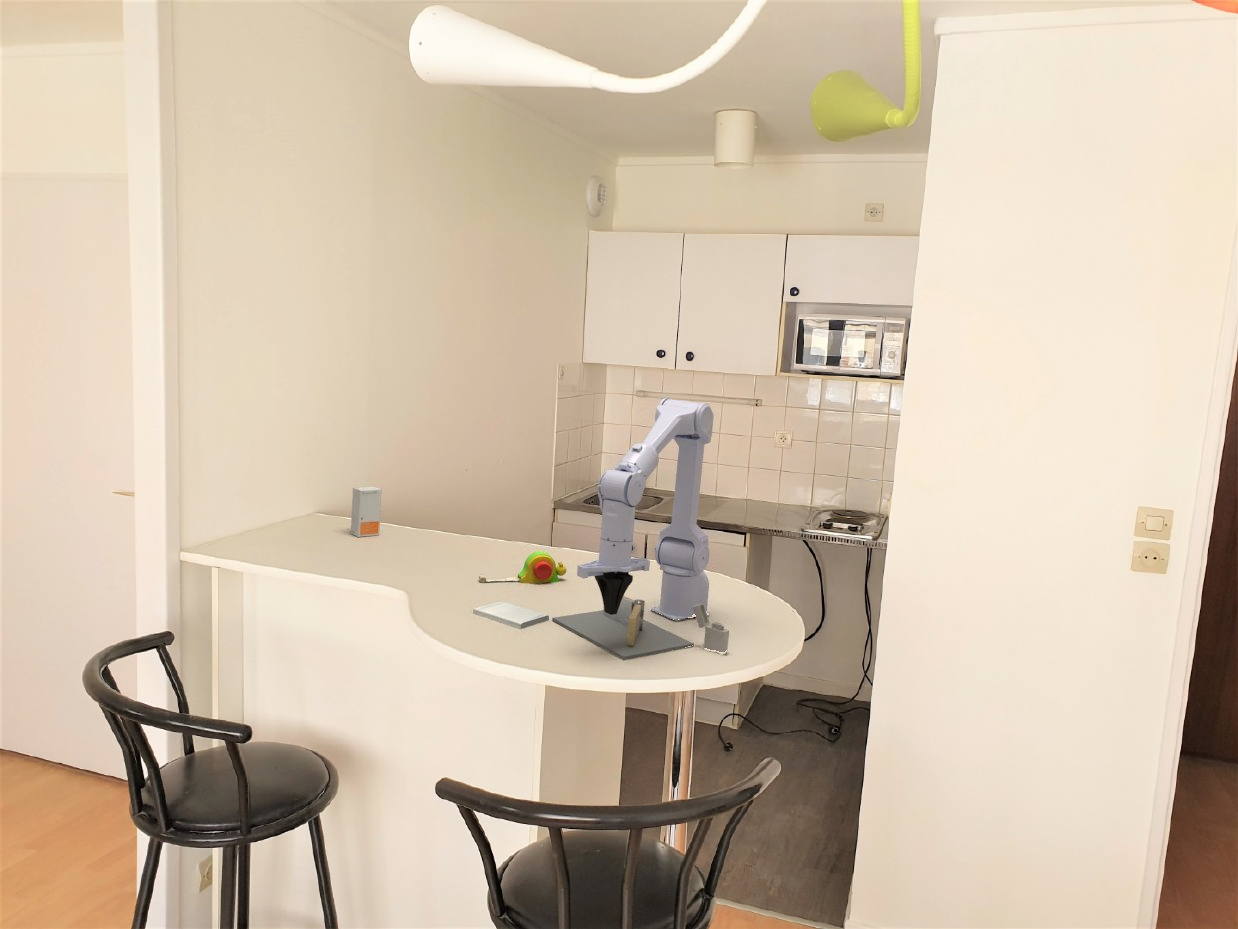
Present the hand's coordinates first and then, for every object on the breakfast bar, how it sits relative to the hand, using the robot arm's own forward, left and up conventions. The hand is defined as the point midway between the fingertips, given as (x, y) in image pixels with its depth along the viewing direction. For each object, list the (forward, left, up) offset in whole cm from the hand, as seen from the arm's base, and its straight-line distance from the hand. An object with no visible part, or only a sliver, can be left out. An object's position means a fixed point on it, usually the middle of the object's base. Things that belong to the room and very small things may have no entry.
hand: (610, 613), depth 166 cm
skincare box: (+8, -94, -7) cm, 94 cm away
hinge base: (-7, -6, -7) cm, 11 cm away
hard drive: (+7, -22, -7) cm, 25 cm away
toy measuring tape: (-8, -43, -7) cm, 44 cm away
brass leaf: (-7, -1, -6) cm, 9 cm away
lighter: (-17, +8, -7) cm, 20 cm away
